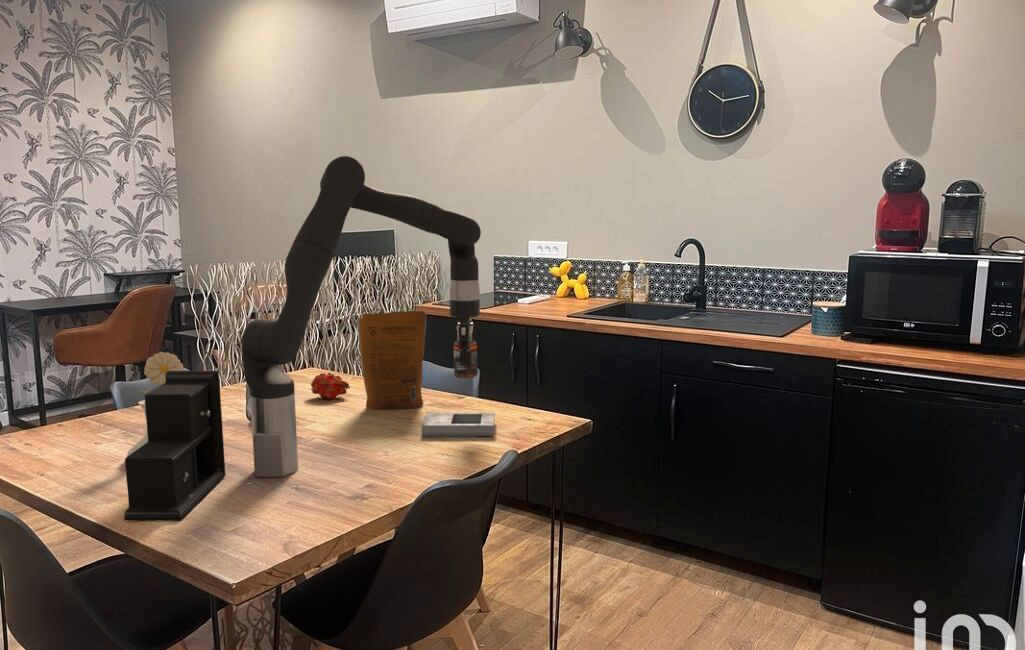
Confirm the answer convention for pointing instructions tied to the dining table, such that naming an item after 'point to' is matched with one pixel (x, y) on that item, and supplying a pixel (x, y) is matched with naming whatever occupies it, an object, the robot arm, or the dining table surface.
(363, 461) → the dining table surface
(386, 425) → the dining table surface
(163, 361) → the flower in vase
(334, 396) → the dragon fruit
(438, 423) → the grey block with hole
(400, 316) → the pancake mix bag
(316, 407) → the dining table surface
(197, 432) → the black drawer cabinet
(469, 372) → the supplement bottle
